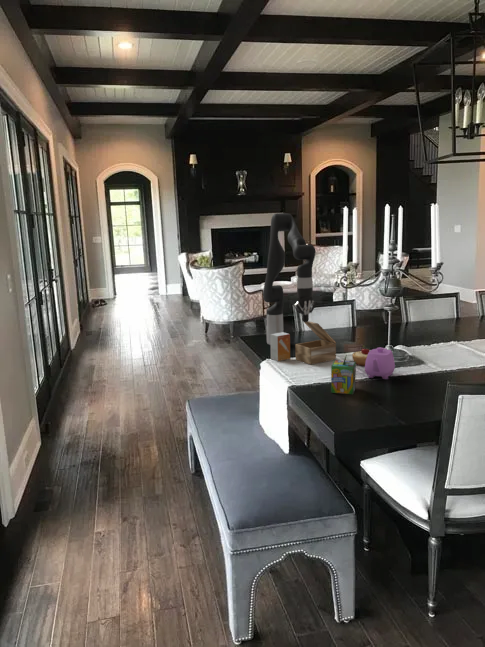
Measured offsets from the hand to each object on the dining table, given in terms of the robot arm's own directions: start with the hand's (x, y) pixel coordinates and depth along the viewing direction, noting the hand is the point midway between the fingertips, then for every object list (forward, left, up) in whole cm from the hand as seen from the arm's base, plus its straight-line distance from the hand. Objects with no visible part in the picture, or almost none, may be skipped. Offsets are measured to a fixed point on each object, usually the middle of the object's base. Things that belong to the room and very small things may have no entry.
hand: (305, 321), depth 257 cm
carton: (0, +6, -20) cm, 21 cm away
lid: (0, +8, -6) cm, 10 cm away
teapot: (+39, +11, -20) cm, 45 cm away
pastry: (+20, +20, -20) cm, 35 cm away
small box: (-12, -7, -20) cm, 25 cm away
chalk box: (+45, -15, -20) cm, 52 cm away
